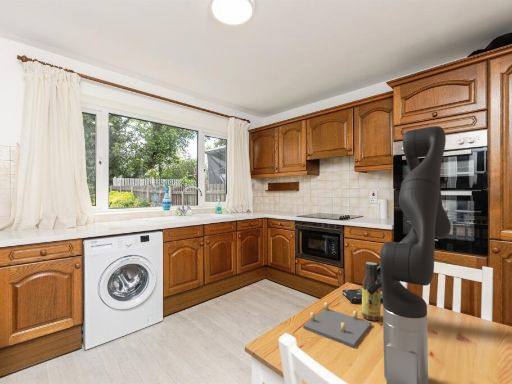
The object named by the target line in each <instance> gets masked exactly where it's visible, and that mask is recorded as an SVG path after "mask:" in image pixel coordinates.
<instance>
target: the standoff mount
mask: <svg viewBox="0 0 512 384" xmlns="http://www.w3.org/2000/svg"><path fill="white" fill-rule="evenodd" d="M352 311H353V313H352V314H353V315H349V314H346V313H343V312H339V311H336V310H333V309H329V302H328V301H325V302H324V309H322V310H321V311H320V312H319V313H317V314H315V312H313V311H311V312H310V319H309V320H308V321H307V322H306V323H304V324H303V325H302V328H303V329H304V330H306V331H309V332H311V333H314V334H317V335H320V336H322V337H323V338H328V339H330V340H332V341H334V342H337V343H340V344H343V345H345V346H348V347H350V348H353V349H355V347H356V345H358V343H359V342H360V341H361V340H362V338H363V337H364V336H365V334H366V333H367V331H368V330H369V329H370V328H371V327H372V325H373V323H372V321H370V320H367V319H366V320H365V319H361V318H359V316H358V311H357V310H352Z"/></svg>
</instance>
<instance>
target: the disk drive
mask: <svg viewBox="0 0 512 384" xmlns="http://www.w3.org/2000/svg"><path fill="white" fill-rule="evenodd" d="M342 296H343V297H344V296H345V297H346V298H347V299H348V300H349V301H350V302H349V301H348V300H347V299H346V298H345V297H344V298H345V299H346V300H347V301H348V302H349V303H350V304H351V305H357V304H358V305H359V304H360V303H362V288H361V289H342ZM381 304H383V297H382V294H381ZM360 305H361V304H360Z"/></svg>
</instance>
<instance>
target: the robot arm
mask: <svg viewBox="0 0 512 384" xmlns="http://www.w3.org/2000/svg"><path fill="white" fill-rule="evenodd" d="M402 148H403V153H404V158H405V160H406V163H407V166H408V170H409V173H408V174H407V175H406V176H405V177H404V179H402V182H401V184H400V190H399V194H398V205H399V207H400V209H401V211H402V213H403V214H404V215H405V217H406V218H407V220H408V221H409V223H410V224H411V228H410V230H409V232H408V234H406V236H405V237H403V239H401V240H400V241H399V242H397V241H385V242H384V243H383V244H382V246H381V248H380V252H379V253H380V254H379V263H378V262H376V263H377V264H378V268H377V280H376V282H375V283H374V284H372V285H371V286H370V287H369V288H368V289H367V291H368V292H369V293H370V294H371V295H373V294H374V293H375V292H376V291H377V290H378V289H379V288H381V295H382V297H383V303H382V320H383V321H382V323H383V326H382V328H383V335H382V336H383V375H384V379H385V378H386V379H385V380H387V381H386V384H429V355H428V354H429V352H428V351H429V349H428V347H429V346H428V345H429V344H428V343H429V342H428V305H427V302H426V300H425V299H424V298H423V297H421V296H420V295H419V294H416V292H415V293H414V292H413V291H411V290H409V289H408V288H406V287H405V286H404V285H403V284H402V283H406V284H413V285H417V286H429V285H430V284H431V283H432V280H433V277H434V273H435V246H436V245H435V244H436V243H435V242H436V240H435V239H438V240H442V239H446V238H447V237H448V236H449V235H450V234H451V229H452V225H451V221H450V218H449V216H448V214H447V212H446V210H445V208H444V206H443V199H442V191H441V190H442V189H441V187H440V186H441V185H440V184H441V169H442V164H443V160H444V154H445V148H446V131H445V130H444V128H443V127H442V126H438V125H434V126H432V125H431V126H426V127H421V128H415V129H410V130H406V132H404V133H403V136H402ZM419 158H423V160H422V161H421V162H420V160H419ZM361 285H363V281H362V282H361Z"/></svg>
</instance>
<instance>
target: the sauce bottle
mask: <svg viewBox="0 0 512 384" xmlns="http://www.w3.org/2000/svg"><path fill="white" fill-rule="evenodd" d="M377 263H378V262H371V261H366V262H365V268H366V269H365V276H364V277H363V279H362V282H363V285H362V284H361V285H362V286H361V289H362V304H361V316H362V317H363V318H364V320H365V319H366V320H367V321H371V322H372V321H375V322H376V321H379V320H380V319H381V308H382V306H381V304H382V303H381V295H382V288H379V289H378V290H377V291H376V292H375V293H374V294H373V295H371V294H370V293H369V292H368V291H367V289H368V288H369V287H370V286H371V285H372V284H374V283H375V282H376V280H377V268H378V264H377Z"/></svg>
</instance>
